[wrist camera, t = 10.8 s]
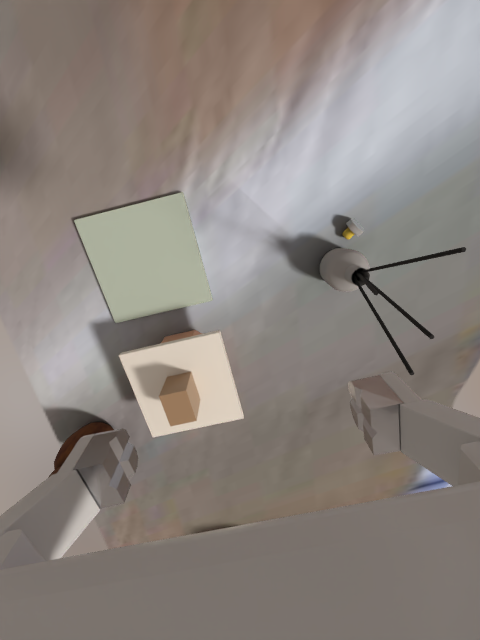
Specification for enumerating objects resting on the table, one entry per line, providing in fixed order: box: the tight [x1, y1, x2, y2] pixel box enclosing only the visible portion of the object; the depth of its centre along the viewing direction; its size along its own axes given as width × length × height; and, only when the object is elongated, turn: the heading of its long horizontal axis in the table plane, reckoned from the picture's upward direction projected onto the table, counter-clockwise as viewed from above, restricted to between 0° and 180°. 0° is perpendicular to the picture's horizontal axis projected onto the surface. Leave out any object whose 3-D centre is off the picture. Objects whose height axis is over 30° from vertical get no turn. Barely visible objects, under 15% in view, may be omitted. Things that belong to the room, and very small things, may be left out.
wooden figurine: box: [48, 422, 114, 478], centre depth 37 cm, size 7×6×15 cm
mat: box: [74, 192, 213, 323], centre depth 35 cm, size 13×13×1 cm
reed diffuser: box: [320, 218, 466, 375], centre depth 27 cm, size 10×7×20 cm
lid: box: [119, 330, 244, 437], centre depth 33 cm, size 12×12×5 cm
